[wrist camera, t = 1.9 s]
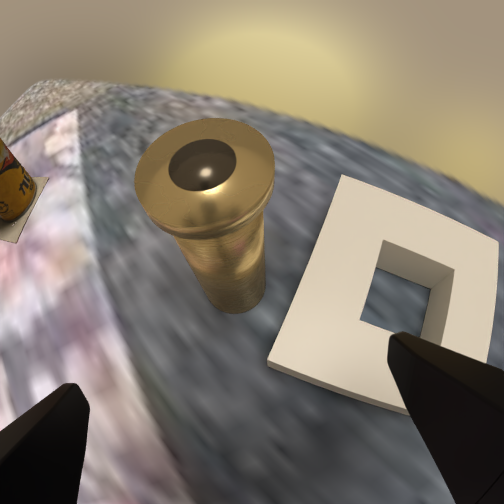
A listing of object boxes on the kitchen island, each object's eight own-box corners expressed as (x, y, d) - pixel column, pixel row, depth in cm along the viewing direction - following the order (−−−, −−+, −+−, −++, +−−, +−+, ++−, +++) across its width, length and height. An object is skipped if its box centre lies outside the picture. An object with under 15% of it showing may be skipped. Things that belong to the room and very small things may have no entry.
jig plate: (440, 423, 17) (469, 425, 14) (267, 366, 20) (267, 359, 17) (474, 263, 23) (498, 242, 19) (333, 204, 26) (342, 174, 22)
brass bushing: (254, 332, 22) (235, 247, 10) (186, 302, 23) (108, 198, 11) (283, 266, 24) (295, 134, 12) (219, 241, 25) (180, 108, 13)
